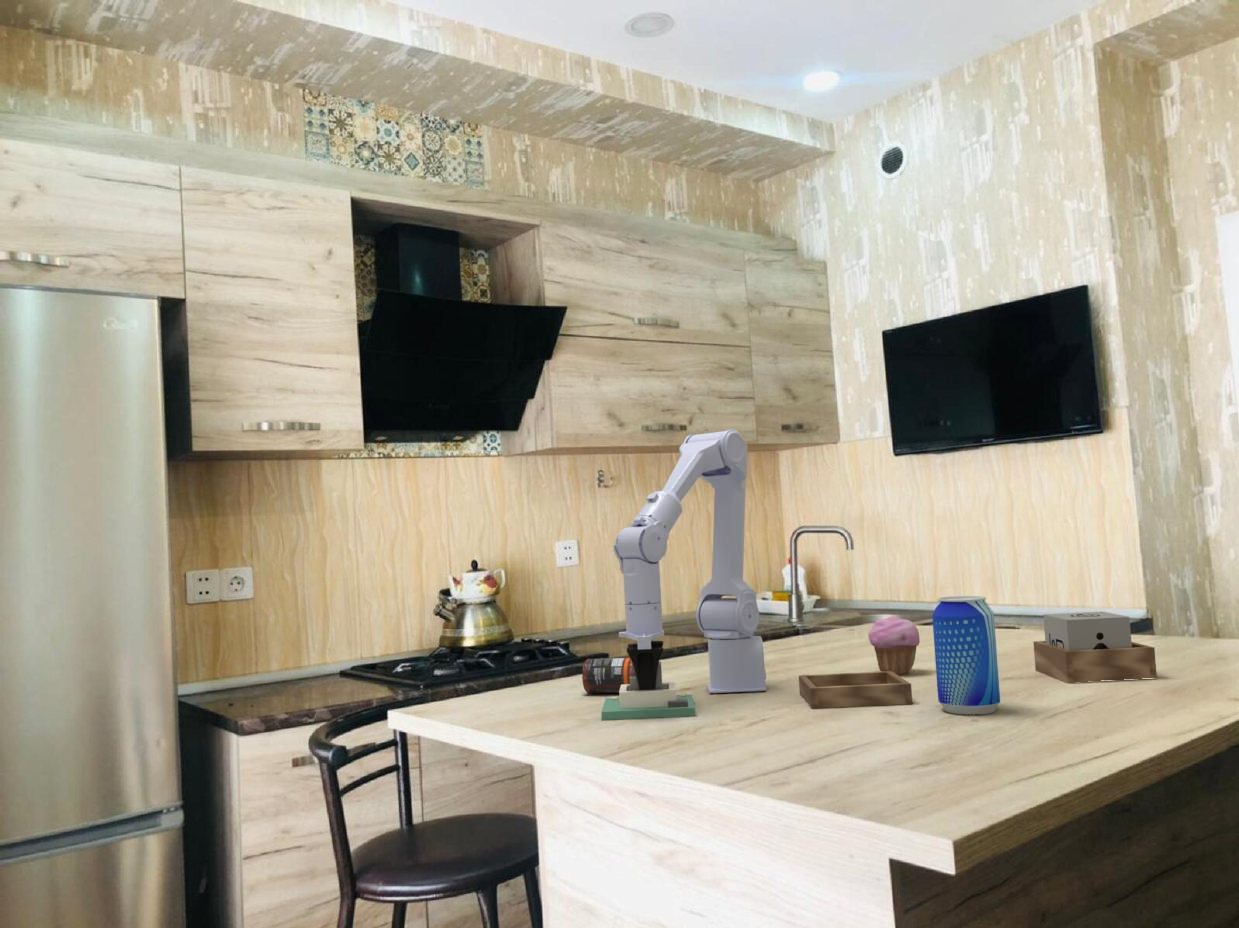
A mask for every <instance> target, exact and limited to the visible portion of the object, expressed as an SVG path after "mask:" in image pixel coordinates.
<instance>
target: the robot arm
mask: <svg viewBox="0 0 1239 928" xmlns="http://www.w3.org/2000/svg"><path fill="white" fill-rule="evenodd" d="M678 448H679V449H678V450H679V459H678V461H677V463H676V465H675V466H674V469H673V470H672V472H671V473H670V476H669V478H668V479H667V481H666V483H665V485H664V487H663V488H662V490H657V491H653V492H652V493H650V494H648V495H647V497H646V500H647V501H646V502H645V503H644V505H643V507H642V508H641V509H640V510H639V513H638V514H637V516H635V518H634V519H633V521H632V523H631V525H630V526H627V527H624V528H623V529H621V531H620V532H619V533H618V534H617V536H616V538H615V543H614V545H613V546H612V547H613V552H614V555H615V557H616V558H617V560H618V562H619V570H620V572H621V574H623V592H624V593H623V594H624V611H625V629H626V630H625V631H618V638H626V639H629V640H632V641H636V643H628V644H627V646H626V652H627V655H628V658H631V661H632V663H633V666H634V669H635V672H636V677H637V682H638V686H639V690H640V691H641V690H655V686H656V676H657V668H658V663H659V662H660V660H661V656H662V654H663V651H664V647H663V646H664V641H663V640H657V639H658V638H662V637H664V636H665V630H664V629H663V627H664V626H663V612H662V611H663V610H662V606H663V605H662V591H661V590H662V589H661V574H660V573H661V571H660V570H661V569H660V561H661V560H662V559H663V557H665V556H666V554H667V553H666V552H667V550H668V549H667V548H668V540H669V535H670V532H671V530H672V529H673V527H674V526H675V524H676V523H677V521H678V520H679V518H680V517H681V515H682V512H683V506H682V503H681V502H682V500H683V499H684V498H685V496H686V495H687V494H688V492H689V491H690V490H691V489H692V488H693V486H694V485H695V483H697V481H698V479H699V478H700V479H702V480H703V481H704V482H706V483H709V484H710V485H711V486H712V488H713V491H714V495H713V496H714V500H713V526H712V527H713V529H712V530H713V531H712V532H713V533H712V534H713V535H712V536H713V537H712V558H711V559H712V563H711V565H712V566H711V568H712V569H711V579H710V580H709V582H707V583H706V584H705V585H704V586H703V587H702V588H701V589H700V594H699V595H700V598H699V602H698V605H697V607H696V610H695V611H696V612H695V619H696V624H697V625H698V628H699V630H701V632H703V637H704V638H707V647H708V648H707V649H708V665H709V683H706V684H707V689H708V692H709V694H722V693H723V694H725V693H743V692H744V693H745V692H766V690H767V686H766V685H767V684H766V683H767V682H766V680H767V672H766V667H765V653H764V643H763V638H762V636H761V635H754V633H755V632H756V630H757V628H758V625H759V623H760V611H759V606H758V603H757V592H756V590H755V589H754V588H752V586H750V585H749V583H747V582H745V580H744V555H745V554H744V552H745V551H744V550H745V549H744V548H745V524H746V523H745V522H746V521H745V520H746V519H745V518H746V517H745V515H746V483H747V482H746V478H747V477H748V444H747V442H746V441H745V440H744V438H743V436H742V435H741V434H740V432H739V431H737V430H736V429H732V428H731V429H730V428H729V429H727V430H723V431H715V432H708V433H699V434H696V433H691V434H689V435H687V436H686V437H685V438H684V441H683V443H682V444H681V445H680V446H679V447H678ZM726 596H728V597H729V596H730V597H729V598H728V597H726ZM732 597H733V598H732ZM734 597H735V598H734Z"/></svg>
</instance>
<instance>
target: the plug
mask: <svg viewBox="0 0 1239 928" xmlns="http://www.w3.org/2000/svg"><path fill="white" fill-rule="evenodd" d="M635 673H636V672H635ZM662 673H663V670H662V661H660V660H659V663H658V668H657V676H656V686H655V690H663V688H662V683H663V674H662ZM630 691H640V690H639V686H638V682H637V677H630Z"/></svg>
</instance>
